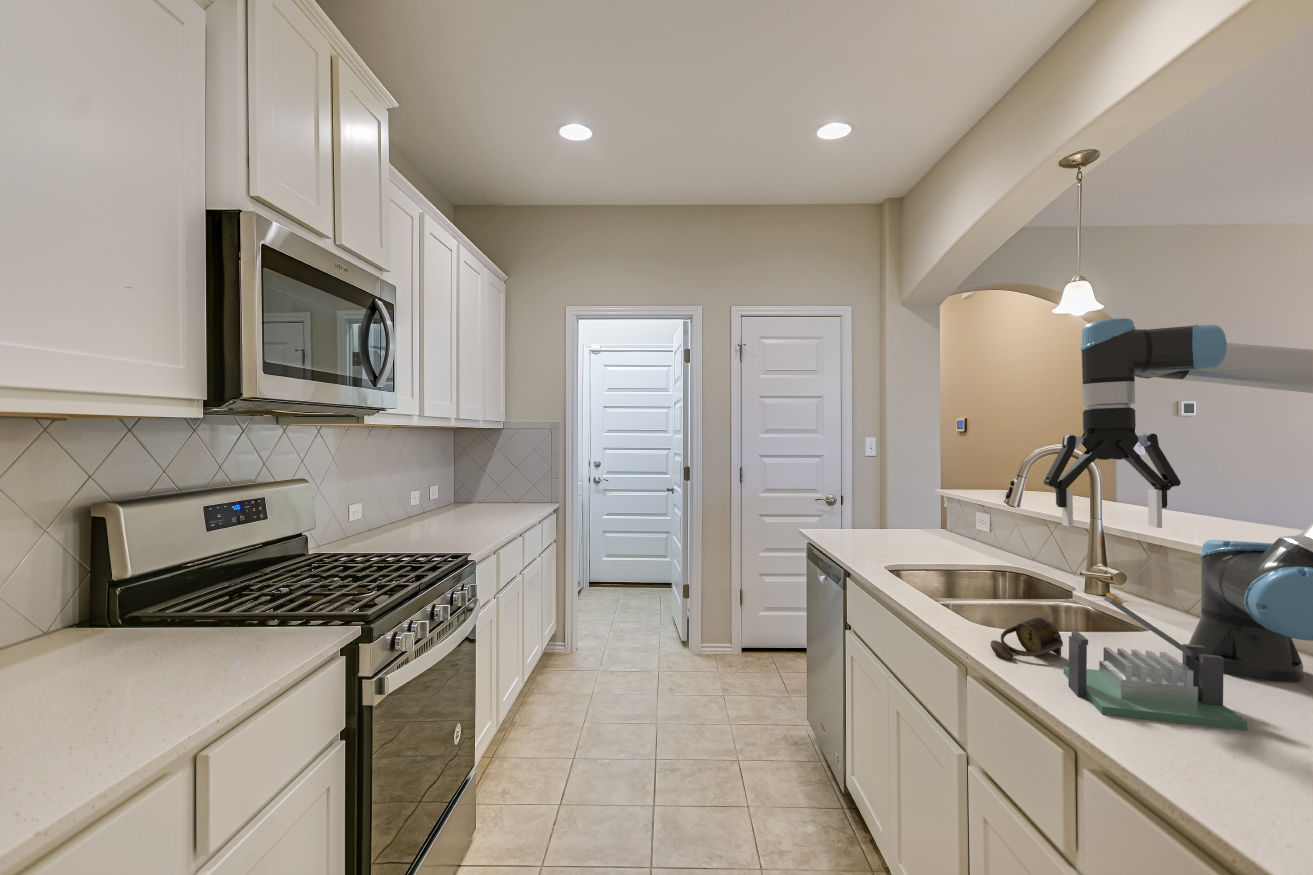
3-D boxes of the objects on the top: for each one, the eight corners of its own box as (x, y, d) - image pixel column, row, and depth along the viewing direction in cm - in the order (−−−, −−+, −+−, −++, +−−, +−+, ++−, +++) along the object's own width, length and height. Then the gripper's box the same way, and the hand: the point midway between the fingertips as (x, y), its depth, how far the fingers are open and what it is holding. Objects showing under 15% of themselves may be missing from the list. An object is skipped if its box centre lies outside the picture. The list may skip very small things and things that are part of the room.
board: (1184, 685, 103) (1184, 678, 103) (1247, 730, 87) (1247, 722, 87) (1063, 673, 108) (1063, 666, 108) (1102, 713, 92) (1102, 706, 92)
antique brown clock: (1078, 638, 110) (1054, 610, 120) (1003, 628, 112) (985, 601, 122) (1070, 672, 112) (1046, 642, 121) (996, 662, 114) (978, 633, 124)
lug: (1078, 687, 102) (1078, 631, 102) (1087, 697, 98) (1088, 639, 98) (1068, 686, 102) (1069, 631, 102) (1077, 696, 98) (1078, 639, 98)
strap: (1194, 660, 97) (1200, 654, 96) (1204, 666, 94) (1210, 660, 94) (1101, 598, 100) (1107, 592, 100) (1108, 602, 98) (1114, 596, 97)
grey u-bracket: (1201, 690, 98) (1202, 645, 98) (1223, 705, 92) (1223, 657, 92) (1182, 688, 98) (1182, 643, 98) (1202, 703, 93) (1203, 656, 93)
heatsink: (1169, 684, 100) (1169, 652, 100) (1197, 706, 92) (1198, 671, 92) (1099, 677, 103) (1099, 646, 103) (1120, 698, 95) (1121, 664, 95)
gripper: (1178, 405, 108) (1180, 523, 108) (1023, 410, 114) (1025, 522, 114) (1205, 404, 101) (1207, 530, 101) (1037, 409, 107) (1040, 528, 107)
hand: (1110, 526), depth 108 cm, fingers open, 13 cm apart
